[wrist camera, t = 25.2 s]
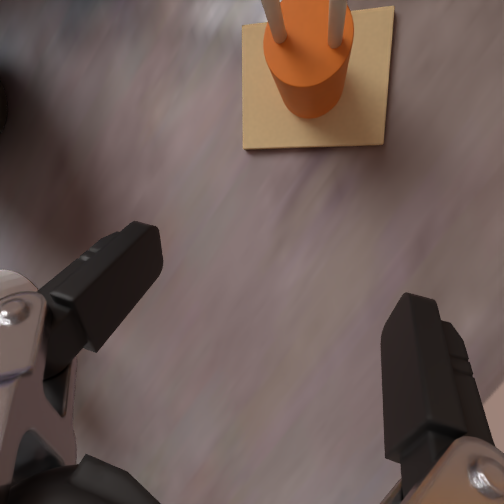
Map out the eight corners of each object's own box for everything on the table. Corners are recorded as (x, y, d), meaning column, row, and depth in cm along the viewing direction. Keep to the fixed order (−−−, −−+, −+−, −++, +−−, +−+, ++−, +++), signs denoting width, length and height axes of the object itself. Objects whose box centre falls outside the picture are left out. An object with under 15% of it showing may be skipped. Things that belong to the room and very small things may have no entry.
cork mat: (393, 9, 23) (394, 4, 22) (382, 145, 25) (383, 143, 24) (243, 28, 26) (241, 24, 25) (244, 149, 28) (242, 148, 27)
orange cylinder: (287, 47, 25) (218, -235, 8) (351, 53, 24) (415, -254, 7) (275, 114, 26) (195, -18, 10) (335, 122, 25) (361, -10, 9)
